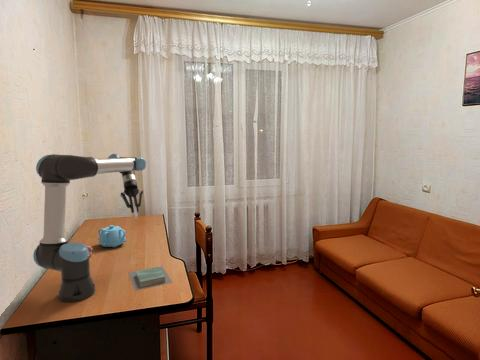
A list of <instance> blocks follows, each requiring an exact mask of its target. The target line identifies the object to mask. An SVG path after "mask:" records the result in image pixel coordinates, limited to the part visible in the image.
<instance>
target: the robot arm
mask: <svg viewBox="0 0 480 360" xmlns="http://www.w3.org/2000/svg"><path fill="white" fill-rule="evenodd" d="M146 165H147V162H146V159H145V158H143V157H140V156H138V157H137V156H136V157H134V156H133V157H132V156H131V157H129V156H120V155H118V154H117V153H111V154H110V155H108V157H105V158H94V157H92V156H79V155H72V154H56V153H55V154H45V155H43V156H42V157H41V158H40V159H39V160H38V161H37V163H36V166H35V169H36V173H37V175H38V176H39V177H40V178H41V184H42V185H43V186H44V205H43V206H44V210H43V211H44V212H43V236H42V238H41V239H40V240H39V244H37V246H36V248H35V249H34V250H33V254H32V255H33V256H32V257H33V260H34V262H35V264H36V265H37V266H38V267H40V268H42V269H45V270H52V271H57V272H60V274H61V284H60V288H59V290H58V299H59V301H61V302H64V303H73V302H79V301H84V300H85V299H88V298H89V297H91V296H93V295H94V294H95V292H96V286H95V283H94V281H93V279H92V277H91V268H90V257H89V256H90V253H89V252H90V251H89V248H87V246H88V245H87V244H84V243H81V242H77V241H76V242H69V239H68V237H65V232H66V231H65V229H66V227H65V225H66V201H67V198H66V196H67V187H68V186H69V185H70V184H71V181H73V180H80V179H81V180H82V179H87V178H93V177H95V176H97V175H102V174H103V175H104V174H112V173H114V174H115V173H119V174H121V177H122V181H123V182H122V183H123V188H124V189H123V192H120V197H121V198H122V200H123V202H124V204H125V206H126V208H127V209H130V211H131V212H130V213H132V214H133V218H134V219H138V218H139V217H138V216H139V215H138V213H139V208H140V207H142V206H141V205H142V199H143V198H142V197H143V195H144V191H143V190H139V187H138V182H137V178H136V177H137V176H136V172H137V171H138V172H139V171H141V172H142V171H144V170H145V169H146V167H147V166H146ZM138 195H139V198H138V199H137V196H138ZM127 197H128V199H129V200H128V199H127ZM133 201H134V202H133Z"/></svg>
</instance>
